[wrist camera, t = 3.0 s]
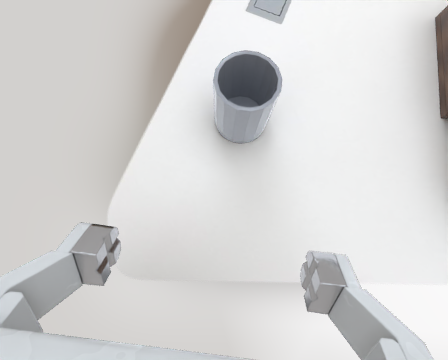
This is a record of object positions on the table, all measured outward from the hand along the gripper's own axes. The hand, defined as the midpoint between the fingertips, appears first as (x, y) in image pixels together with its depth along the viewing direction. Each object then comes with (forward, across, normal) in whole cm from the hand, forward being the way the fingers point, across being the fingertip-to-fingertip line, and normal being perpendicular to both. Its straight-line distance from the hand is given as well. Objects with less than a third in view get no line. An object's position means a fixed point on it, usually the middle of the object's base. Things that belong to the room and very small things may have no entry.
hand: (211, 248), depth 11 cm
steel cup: (+23, -1, +2) cm, 23 cm away
